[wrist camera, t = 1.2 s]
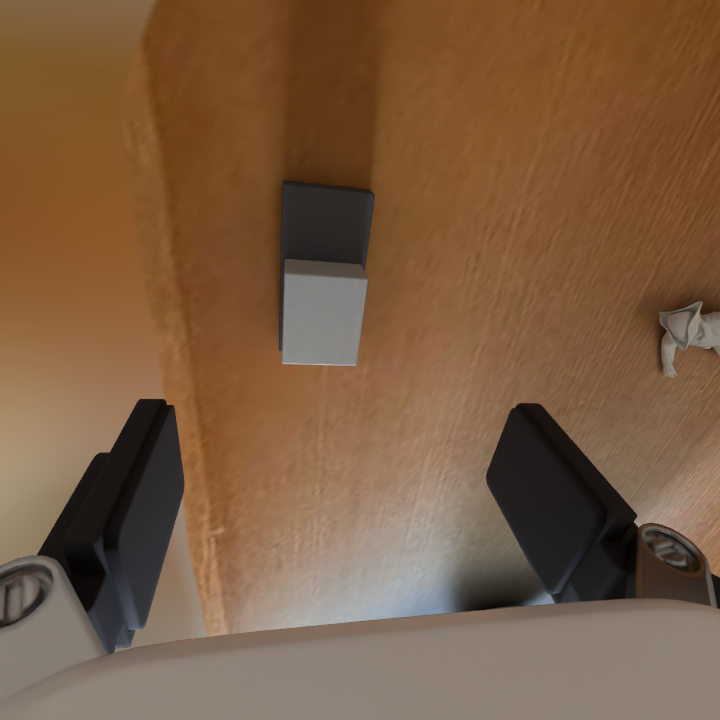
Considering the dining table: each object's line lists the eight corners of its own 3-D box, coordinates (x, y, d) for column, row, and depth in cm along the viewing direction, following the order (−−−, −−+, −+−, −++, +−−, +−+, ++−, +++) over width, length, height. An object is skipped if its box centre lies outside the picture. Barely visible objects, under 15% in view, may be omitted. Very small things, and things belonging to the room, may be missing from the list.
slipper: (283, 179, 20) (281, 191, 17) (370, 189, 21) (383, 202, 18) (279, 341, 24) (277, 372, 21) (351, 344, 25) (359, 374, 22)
